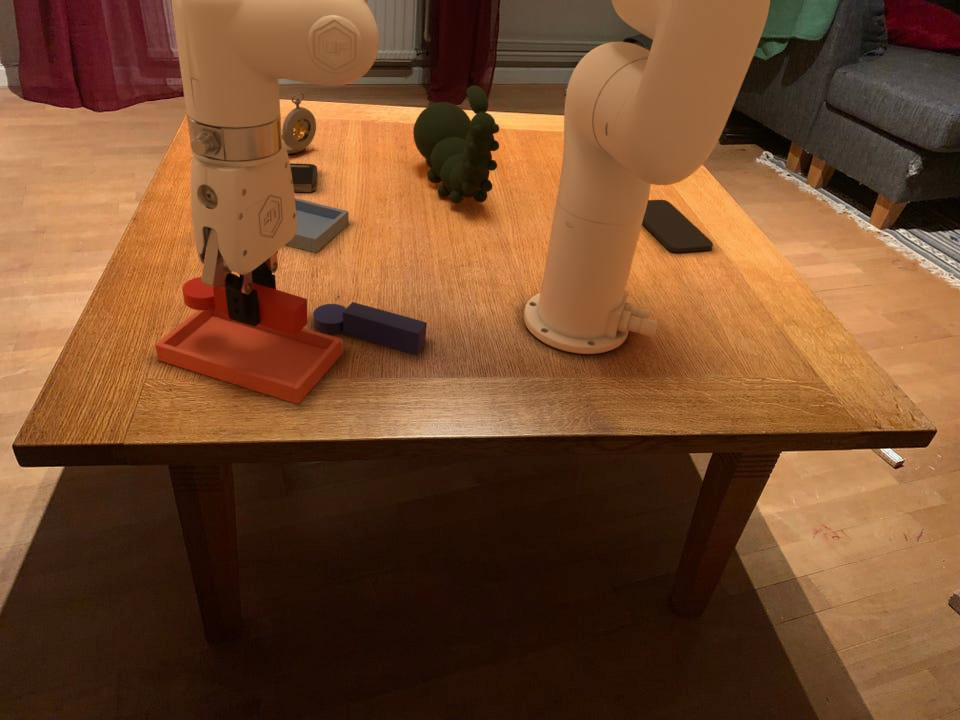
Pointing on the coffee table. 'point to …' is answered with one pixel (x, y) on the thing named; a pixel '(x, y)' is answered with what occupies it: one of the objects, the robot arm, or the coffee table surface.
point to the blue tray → (317, 225)
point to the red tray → (250, 354)
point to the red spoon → (273, 305)
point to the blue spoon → (372, 326)
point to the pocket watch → (298, 128)
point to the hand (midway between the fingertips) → (253, 312)
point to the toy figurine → (458, 146)
